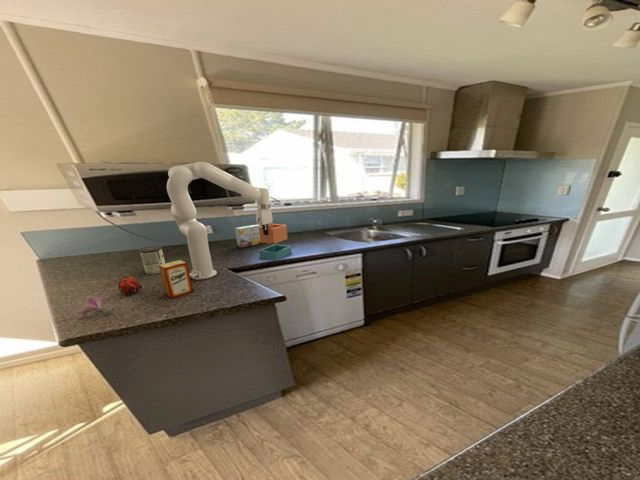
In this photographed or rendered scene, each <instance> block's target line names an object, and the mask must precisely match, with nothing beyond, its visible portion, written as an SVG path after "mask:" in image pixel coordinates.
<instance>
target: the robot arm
mask: <svg viewBox="0 0 640 480" xmlns="http://www.w3.org/2000/svg"><path fill="white" fill-rule="evenodd" d="M167 175H168V177H169V178H168V179H167V181H166V182H167V183H166V191H167V195H168V197H169V199H170V202H171V206H170V213H171V215H172V217H173V219H174V221H175V223H176V225H177V227H178V229H179V231H180V233H182V234H183V235H185V236H186V239H187V242H186V243H187V249H188V252H189V256H190V261H191V266H192V270H191V272H189V275H190V279H192V280H197V281H199V280H200V281H201V280H206V279H210V278H213V277H215V276H217V275H218V272H217V270H215V269H214V267H213V261H212V257H211V252H210V247H209V246H210V245H209V241H208V230H207V228H206V226H205V224H203V223H202V222H200V221H198V220H197V219H196V217H197V209H196V207H195V205H194V202H193V200H192V198H191V196H190V194H189V190H188V187H189V184H190V183H191V182H192V181H194V180H199V179H204V180H206V181H209V182H211V183H212V184H215V185H217V186H219V187H221V188H223V189H224V190H228V191H232V192H234V193H238V194H239V195H241V197H242V198H243V199H245V200H249V201H250V200H251V201H256V207H257V209H256V210H255V211H256V212H255V217H256V219H255V220H256V224H258V225H259V227H262V229H263V234H264V235H268V229H267V228H270V225H271V224H273V220H274V219H273V212H272V209H271V203H270V195H269V188H268V187H267V186H254V185H252V184H250V183H249V182H247V181H244V180H243V179H240V178H238V177H236V176H234V175H232V174H230V173H228V172H226V171H224V170H222V169H221V168H219V167H217V166H215V165H213V164H211V163H209V162H206V161H197V162H191V163H187V164H181V165H175V166H172V167H170V168H169V169H168V172H167Z"/></svg>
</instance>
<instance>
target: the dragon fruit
mask: <svg viewBox="0 0 640 480" xmlns="http://www.w3.org/2000/svg"><path fill="white" fill-rule="evenodd" d="M142 288H143V284H141V282H140V281H139V278H138V277H133V276H127V277H126V276H125V277H123V278H122V279H121V280H119V281H118V283H117V289H118V291H120V292H121V293H122V294H125V295H127V296H131V295H132V294H133V293H136V292H138V291H139V289H142Z"/></svg>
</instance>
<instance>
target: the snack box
mask: <svg viewBox="0 0 640 480" xmlns="http://www.w3.org/2000/svg"><path fill="white" fill-rule="evenodd" d="M234 230H235V231H234V232H235V237H236V244H237V247H238V248H240V249H243V248H247V247H252V246H257V245H262V244H264V243H263V242H261V241H260V233H259V225H258V224H257V223H256V224H251V225H245V226H237V227H235V228H234Z"/></svg>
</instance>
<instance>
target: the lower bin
mask: <svg viewBox="0 0 640 480" xmlns="http://www.w3.org/2000/svg"><path fill="white" fill-rule="evenodd" d="M258 254H259V258H260V259H266V260H273V261H277V260H280V259H282V258H283V257H286V256H289V255H290V254H292V246H291V245H285V244H284V245H283V244H278V243H275V244H272V245H270V246H267V247H264V248H262V249H259V250H258Z"/></svg>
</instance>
